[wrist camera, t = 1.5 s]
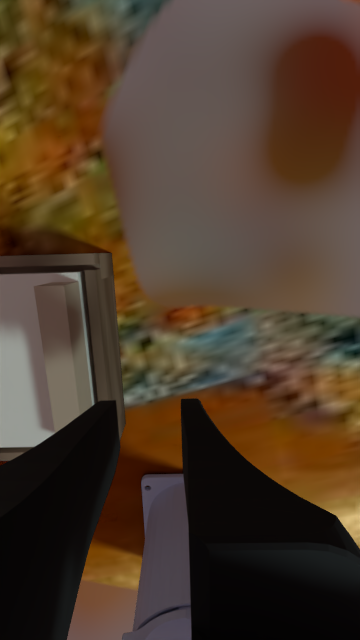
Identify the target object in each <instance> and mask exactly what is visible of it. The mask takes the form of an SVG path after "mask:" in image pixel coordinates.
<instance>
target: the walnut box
mask: <svg viewBox="0 0 360 640" xmlns="http://www.w3.org/2000/svg"><path fill="white" fill-rule="evenodd" d="M74 271H84V279H85V289H86V298H87V308H88V318H89V327H90V337H91V346H92V356H93V365H94V375H95V384H96V394H97V402H99V401H104V400H116V405H117V416H118V427H119V438H121V435H122V432H123V430H124V427H125V424H126V422H125V410H124V398H123V386H122V373H121V361H120V349H119V337H118V324H117V312H116V300H115V288H114V276H113V263H112V253H87V254H54V255H21V256H0V274H6V273H40V272H74ZM32 448H33V447H2V448H0V461H11V460H12V459H14V458H16V457H18V456H19V455H21V454H23V453H25V452H27V451H28V450H30V449H32Z"/></svg>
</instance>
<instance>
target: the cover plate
mask: <svg viewBox="0 0 360 640" xmlns="http://www.w3.org/2000/svg"><path fill="white" fill-rule="evenodd" d="M96 403H97V394H96V384H95V375H94V365H93V356H92V346H91V337H90V327H89V318H88V308H87V298H86V289H85V279H84V271H74V272H40V273H6V274H0V448H2V447H35V446H36V445H38V444H40V443H41V442H43V441H44V440H46V439H47V438H49V437H50V436H51V435H53V434H54V433H56V432H57V431H59V430H60V429H62V428H63V427H65V426H66V425H67V424H69V423H70V422H71V421H73V420H74V419H75V418H77V417H78V416H79V415H81V414H82V413H83V412H85V411H86V410H87V409H89V408H90V407H91V406H93V405H94V404H96Z"/></svg>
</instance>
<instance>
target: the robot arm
mask: <svg viewBox="0 0 360 640" xmlns="http://www.w3.org/2000/svg"><path fill="white" fill-rule="evenodd" d="M181 426H182V457H183V474H147V475H144V476H143V477H142V481H141V487H142V501H143V515H144V529H145V544H144V551H143V558H142V566H141V573H140V581H139V588H138V595H137V603H136V610H135V618H134V625H133V632H129V633H124V634H123V636H122V640H360V549H359V547H358V546H357V544H356V543H355V542H354V540H353V539H352V537H351V536H350V534H349V533H348V532H347V530H346V529H345V528H344V526H343V525H342V523H341V522H340V521H339V519H338V518H337V516H336V515H334V514H332V513H330V512H328V511H326V510H324V509H322V508H320V507H318V506H316V505H314V504H312V503H310V502H309V501H307V500H305V499H303V498H301V497H299V496H297V495H296V494H294V493H292V492H291V491H289V490H288V489H286V488H284V487H283V486H281V485H280V484H278V483H277V482H275V481H274V480H272V479H271V478H269V477H268V476H266V475H265V474H264V473H263V472H261V471H260V470H259V469H257V468H256V467H255V466H253V465H252V464H251V463H250V462H249V461H247V460H246V459H245V458H244V457H243V456H242V455H241V454H240V453H239V452H238V451H237V450H236V449H235V448H234V447H233V446H232V445H231V444H230V443H229V442H228V441H227V439H226V438H225V437H224V436H223V435H222V434H221V432H220V431H219V430H218V429H217V427H216V426H215V425H214V423H213V422H212V420H211V419H210V418H209V416H208V414H207V413H206V411H205V410H204V408H203V406H202V404H201V401H200V400H198V399H181ZM119 451H120V438H119V427H118V416H117V405H116V400H104V401H99V402H97V403H96V404H94V405H93V406H91V407H90V408H89V409H87V410H86V411H85V412H83V413H82V414H81V415H79V416H78V417H77V418H75V419H74V420H73V421H71V422H70V423H69V424H67V425H66V426H65V427H63V428H62V429H60V430H59V431H57V432H56V433H54V434H53V435H51V436H50V437H49V438H47V439H46V440H44V441H43V442H41V443H40V444H38V445H36V446H35V447H33V448H32V449H30V450H28V451H27V452H25V453H23V454H21V455H19V456H18V457H16V458H14V459H12V460H11V461H9V462H7V463H5V464H3V465H1V466H0V640H67V636H68V631H69V627H70V623H71V619H72V614H73V610H74V606H75V602H76V598H77V594H78V589H79V585H80V581H81V577H82V573H83V569H84V566H85V562H86V558H87V554H88V550H89V547H90V544H91V540H92V537H93V534H94V531H95V528H96V526H97V523H98V520H99V517H100V514H101V511H102V508H103V506H104V503H105V500H106V497H107V494H108V491H109V489H110V486H111V483H112V480H113V477H114V474H115V470H116V466H117V461H118V456H119ZM147 485H148V486H150V487H146V486H147Z"/></svg>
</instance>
